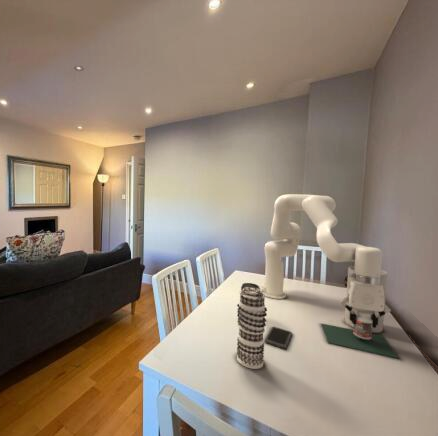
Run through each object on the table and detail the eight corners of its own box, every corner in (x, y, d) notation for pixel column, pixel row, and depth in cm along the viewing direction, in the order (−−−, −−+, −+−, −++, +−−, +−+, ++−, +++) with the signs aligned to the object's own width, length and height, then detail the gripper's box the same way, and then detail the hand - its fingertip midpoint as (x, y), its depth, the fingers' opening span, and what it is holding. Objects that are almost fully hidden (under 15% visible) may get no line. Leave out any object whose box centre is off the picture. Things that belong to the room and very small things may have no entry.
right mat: (328, 343, 94) (328, 342, 94) (321, 324, 108) (321, 323, 108) (398, 358, 85) (399, 357, 85) (381, 336, 99) (381, 335, 99)
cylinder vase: (375, 322, 110) (379, 268, 108) (388, 336, 99) (393, 276, 97) (341, 316, 115) (344, 264, 114) (349, 329, 104) (353, 272, 102)
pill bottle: (353, 336, 95) (354, 312, 95) (353, 330, 99) (354, 307, 99) (371, 341, 92) (373, 316, 91) (371, 335, 96) (373, 311, 95)
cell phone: (264, 342, 94) (264, 340, 94) (272, 327, 105) (272, 325, 105) (285, 349, 90) (285, 347, 90) (292, 333, 101) (292, 331, 101)
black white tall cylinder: (262, 373, 78) (266, 297, 76) (232, 363, 83) (235, 291, 81) (266, 357, 85) (269, 288, 83) (238, 349, 90) (240, 283, 88)
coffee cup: (258, 313, 118) (259, 283, 117) (260, 322, 110) (261, 289, 109) (239, 311, 121) (240, 281, 120) (240, 319, 113) (241, 287, 112)
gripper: (340, 278, 94) (337, 323, 96) (401, 285, 87) (397, 334, 88) (336, 273, 101) (333, 315, 103) (392, 279, 93) (388, 325, 95)
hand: (363, 323), depth 95 cm, fingers closed on pill bottle, 5 cm apart
